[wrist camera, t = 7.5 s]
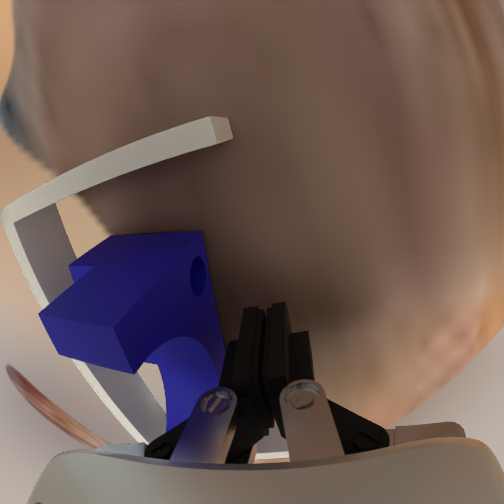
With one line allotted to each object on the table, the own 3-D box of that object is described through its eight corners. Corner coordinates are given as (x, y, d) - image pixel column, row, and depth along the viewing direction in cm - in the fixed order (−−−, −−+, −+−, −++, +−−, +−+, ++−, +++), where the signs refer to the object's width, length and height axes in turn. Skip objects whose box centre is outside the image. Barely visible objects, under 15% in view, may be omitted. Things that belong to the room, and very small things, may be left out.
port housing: (39, 191, 12) (-2, 210, 9) (228, 117, 10) (209, 116, 7) (161, 421, 18) (150, 454, 15) (303, 415, 16) (304, 455, 14)
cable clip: (110, 235, 12) (14, 308, 7) (201, 230, 11) (113, 328, 6) (174, 409, 17) (139, 482, 12) (241, 419, 16) (215, 504, 11)
